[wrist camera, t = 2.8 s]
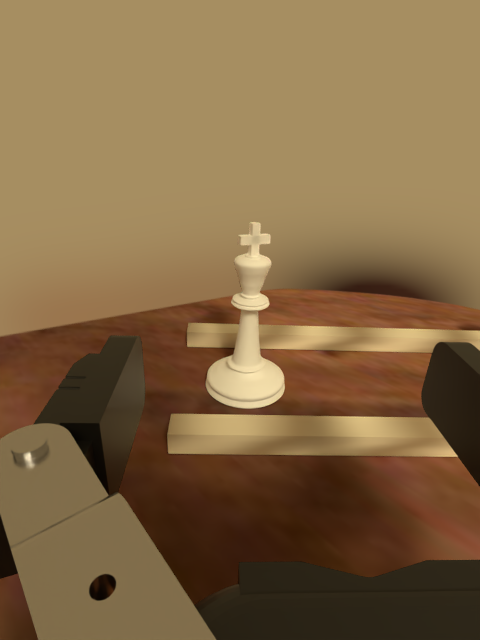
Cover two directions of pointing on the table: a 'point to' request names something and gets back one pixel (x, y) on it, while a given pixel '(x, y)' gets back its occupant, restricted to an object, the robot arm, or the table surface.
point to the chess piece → (248, 337)
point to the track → (314, 430)
